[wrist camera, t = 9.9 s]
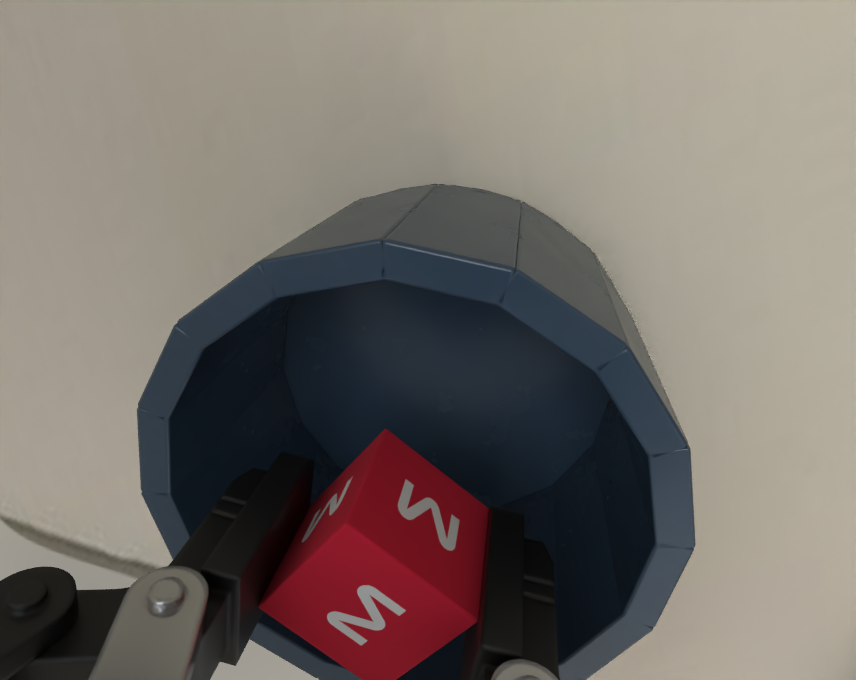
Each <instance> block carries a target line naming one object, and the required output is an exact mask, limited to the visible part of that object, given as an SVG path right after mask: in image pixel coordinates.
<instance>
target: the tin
mask: <svg viewBox="0 0 856 680" xmlns="http://www.w3.org/2000/svg"><path fill="white" fill-rule="evenodd" d="M137 418H138V439H139V459H140V479H141V490H142V496H143V498H144V500H145V502H146V504H147V506H148V508H149V511H150V513H151V515H152V517H153V519H154V521H155V523H156V525H157V527H158V529H159V531H160V533H161V535H162V537H163V540H164V542H165V544H166V546H167V548H168V550H169V552H170V554H171V556H172V558H173V560H174V558H175V557H176V556H177V554H178V553H179V552H180V550H181V549H182V548H183V546H184V545H185V544H186V542H187V541H188V540H189V538H190V537H191V536H192V534H193V533H194V532H195V531H196V529H197V528H198V527H199V525H200V524H201V523H202V521H203V520H204V519H205V517H206V516H207V515H208V513H211V509H212V508H213V507H214V505H215V504H216V503H217V501H218V500H219V499H221V497H222V495H223V494H224V492H225V491H226V490H227V488H228V487H229V486H230V484H231V483H232V482H233V480H234V479H236V478H238V477H239V476H241V475H242V474H244V473H246V472H247V471H249V470H251V469H252V468H256V469H260V470H264V471H268V470H269V469H270V467H271V466H272V464H273V463H274V461H275V460H276V458H277V457H278V456H279V454H280V453H281V452H287V453H291V454H295V455H299V456H303V457H307V458H311V459H314V474H313V483H312V492H311V501H310V506H311V504H312V503H313V502H314V501H315V500H316V499H317V498H318V497H319V496H320V495H321V494H322V493H323V492H324V491H325V490H326V489H327V488H328V487H329V486H330V485H331V484H332V483H333V482H334V481H335V480H336V479H337V477H338V476H339V475H340V474H341V473H342V472H343V471H344V470H345V469H346V468H347V467H348V466H349V465H350V464H351V463H352V462H353V461H354V460H355V459H356V458H357V457H358V456H359V455H360V454H361V453H362V452H363V451H364V450H365V449H366V448H367V447H368V446H369V445H370V444H371V443H372V442H373V441H374V440H375V439H376V438H377V437H378V436H379V435H380V433H381V432H382V431H383V430H384V429H387V430H389V431H390V432H391V433H392V434H394V435H395V436H396V437H398V438H399V439H400V440H401V441H403V442H404V443H405V444H407V445H408V446H409V447H410V448H412V449H413V450H414V451H416V452H417V453H418V454H419V455H421V456H422V457H423V458H424V459H426V460H427V461H428V462H430V463H431V464H432V465H433V466H435V467H436V468H437V469H439V470H440V471H441V472H442V473H444V474H445V475H446V476H448V477H449V478H450V479H451V480H453V481H454V482H455V483H457V484H458V485H459V486H460V487H462V488H463V489H464V490H466V491H467V492H468V493H469V494H471V495H472V496H473V497H475V498H476V499H477V500H478V501H480V502H481V503H482V504H483V505H485V506H486V507H487V508H489V511H490V508H491V506H492V505H495V506H499V507H503V508H507V509H511V510H514V511H518V512H522V513H524V538H528V539H532V540H535V541H539V542H543V543H544V545H545V547H546V549H547V551H548V553H549V555H550V557H551V559H552V561H553V564H554V588H555V606H556V627H557V648H558V669H559V677H560V680H586V679H587V678H589V677H590V676H591V675H593V674H594V673H596V672H597V671H598V670H600V669H601V668H602V667H604V666H605V665H606V664H608V663H609V662H610V661H612V660H613V659H614V658H616V657H617V656H618V655H620V654H621V653H622V652H624V651H625V650H626V649H628V648H629V647H630V646H632V645H633V644H634V643H636V642H637V641H638V640H640V639H641V638H642V637H644V636H645V635H646V634H648V633H649V632H651V631H652V630H653V627H655V625H656V623H657V621H658V619H659V617H660V615H661V613H662V611H663V609H664V608H665V606H666V604H667V602H668V600H669V598H670V596H671V594H672V592H673V590H674V588H675V586H676V584H677V582H678V580H679V578H680V576H681V574H682V572H683V570H684V568H685V566H686V564H687V562H688V560H689V558H690V556H691V554H692V552H693V550H694V547H695V528H694V509H693V490H692V471H691V451H690V447H689V445H688V443H687V439H686V437H685V435H684V433H683V430H682V428H681V426H680V424H679V422H678V419H677V417H676V415H675V413H674V410H673V408H672V406H671V404H670V401H669V399H668V397H667V395H666V392H665V390H664V388H663V386H662V383H661V381H660V379H659V377H658V374H657V372H656V370H655V368H654V365H653V363H652V361H651V359H650V356H649V354H648V352H647V350H646V347H645V345H644V343H643V341H642V338H641V336H640V334H639V332H638V330H637V327H636V325H635V323H634V321H633V318H632V316H631V314H630V313H629V311H628V309H627V308H626V306H625V304H624V303H623V301H622V299H621V298H620V296H619V294H618V293H617V291H616V289H615V287H614V285H613V283H612V281H611V279H610V278H609V276H608V275H607V274H606V272H605V271H604V269H603V267H602V266H601V264H600V262H599V261H598V259H597V257H596V256H595V254H594V253H593V252H592V251H591V249H590V248H589V247H587V246H586V245H584V244H583V243H582V242H580V241H579V240H578V239H577V238H576V237H575V236H573V235H572V234H571V233H570V232H569V231H567V230H566V229H565V228H564V227H562V226H561V225H560V224H559V223H557V222H556V221H554V220H553V219H551V218H549V217H548V216H546V215H544V214H543V213H541V212H539V211H538V210H536V209H535V208H533V207H530V206H529V205H527V204H526V203H525V202H522V203H521V201H519V200H515V199H512V198H510V197H507V196H503V195H500V194H496V193H493V192H489V191H486V190H482V189H476V188H469V187H462V186H455V185H444V184H439V185H438V184H431V185H425V186H418V187H410V188H402V189H398V190H394V191H391V192H387V193H383V194H380V195H376V196H372V197H367V198H362V199H359V200H358V201H355V202H353V203H352V204H350V205H348V206H347V207H345V208H343V209H342V210H340V211H339V212H337V213H335V214H334V215H332V216H331V217H329V218H327V219H326V220H324V221H323V222H321V223H319V224H318V225H316V226H315V227H313V228H311V229H310V230H308V231H307V232H305V233H303V234H302V235H300V236H299V237H297V238H295V239H294V240H292V241H291V242H289V243H287V244H286V245H284V246H283V247H281V248H279V249H278V250H276V251H275V252H273V253H271V254H270V255H268V256H267V257H265V258H263V259H262V260H260V261H259V262H257V263H256V264H254V265H253V266H251V267H250V268H249V269H247V270H246V271H245V272H243V273H242V274H241V275H239V276H238V277H236V278H235V279H234V280H232V281H231V282H230V283H228V284H227V285H226V286H224V287H223V288H222V289H220V290H219V291H217V292H216V293H215V294H213V295H212V296H211V297H209V298H208V299H207V300H205V301H204V302H202V303H201V304H200V305H198V306H197V307H196V308H194V309H193V310H192V311H190V312H189V313H187V314H186V315H185V316H183V317H182V318H181V319H179V321H178V323H177V324H176V325H174V327H173V329H172V331H171V334H170V336H169V338H168V340H167V342H166V344H165V346H164V349H163V351H162V353H161V355H160V357H159V359H158V362H157V364H156V366H155V368H154V370H153V372H152V375H151V377H150V379H149V381H148V383H147V385H146V388H145V390H144V392H143V394H142V396H141V398H140V400H139V403H138V409H137ZM464 637H465V631H464V632H463V633H461V634H460V635H458V636H457V637H456V638H454V639H453V640H451V641H450V642H448V643H447V644H446V645H444V646H443V647H441V648H440V649H439V650H437V651H436V652H434V653H433V654H432V655H430V656H429V657H427V658H426V659H424V660H423V661H422V662H420V663H419V664H417V665H416V666H415V667H413V668H412V669H410V670H409V671H408V672H406V673H405V674H403V675H402V676H401V677H399V678H398V679H396V680H459V679H460V670H461V662H462V654H463V646H464ZM250 640H252V641H254V642H255V643H257V644H259V645H261V646H262V647H264V648H266V649H267V650H269V651H271V652H272V653H274V654H276V655H278V656H279V657H281V658H283V659H285V660H286V661H288V662H290V663H291V664H293V665H295V666H296V667H298V668H300V669H301V670H303V671H305V672H307V673H308V674H310V675H312V676H313V677H315V678H318V679H319V680H362V679H360V678H359V677H358V676H356V675H355V674H353V673H352V672H350V671H349V670H347V669H346V668H345V667H343V666H342V665H340V664H339V663H337V662H336V661H335V660H333V659H332V658H330V657H329V656H327V655H326V654H324V653H323V652H322V651H320V650H319V649H317V648H316V647H314V646H313V645H311V644H310V643H309V642H307V641H306V640H304V639H303V638H301V637H300V636H299V635H297V634H296V633H294V632H293V631H291V630H290V629H288V628H287V627H286V626H284V625H283V624H281V623H280V622H278V621H277V620H275V619H274V618H273V617H271V616H270V615H268V614H267V613H265V612H264V611H263V613H262V615H261V617H260V619H259V621H258V623H257V625H256V627H255V629H254V631H253V633H252V635H251V637H250Z"/></svg>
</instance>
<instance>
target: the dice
mask: <svg viewBox="0 0 856 680" xmlns="http://www.w3.org/2000/svg"><path fill="white" fill-rule="evenodd" d="M488 515H489V508H487V507H486V506H485V505H483V504H482V503H481V502H480V501H478V500H477V499H476V498H475V497H473V496H472V495H471V494H469V493H468V492H467V491H466V490H464V489H463V488H462V487H460V486H459V485H458V484H457V483H455V482H454V481H453V480H451V479H450V478H449V477H448V476H446V475H445V474H444V473H442V472H441V471H440V470H439V469H437V468H436V467H435V466H433V465H432V464H431V463H430V462H428V461H427V460H426V459H424V458H423V457H422V456H421V455H419V454H418V453H417V452H416V451H414V450H413V449H412V448H410V447H409V446H408V445H407V444H405V443H404V442H403V441H401V440H400V439H399V438H398V437H396V436H395V435H394V434H392V433H391V432H390V431H389V430H387V429H384V430H383V431H382V432H381V433H380V435H379V436H378V437H377V438H376V439H375V440H374V441H373V442H372V443H371V444H370V445H369V446H368V447H367V448H366V449H365V450H364V451H363V452H362V453H361V454H360V455H359V456H358V457H357V458H356V459H355V460H354V461H353V462H352V463H351V464H350V465H349V466H348V467H347V468H346V469H345V470H344V471H343V472H342V473H341V474H340V475H339V476H338V477H337V479H336V480H335V481H334V482H333V483H332V484H331V485H330V486H329V487H328V488H327V489H326V490H325V491H324V492H323V493H322V494H321V495H320V496H319V497H318V498H317V499H316V500H315V501H314V502H313V503H312V504H311V506H310V508H309V510H308V512H307V514H306V516H305V518H304V519H303V521H302V523H301V525H300V527H299V529H298V531H297V533H296V535H295V537H294V538H293V540H292V542H291V544H290V546H289V548H288V550H287V552H286V554H285V556H284V558H283V559H282V561H281V563H280V565H279V567H278V569H277V571H276V573H275V575H274V577H273V578H272V580H271V582H270V584H269V586H268V588H267V590H266V592H265V594H264V596H263V597H262V599H261V601H260V603H259V605H258V607H259V608H260V609H261V610H263V611H264V612H265V613H267V614H268V615H270V616H271V617H273V618H274V619H275V620H277V621H278V622H280V623H281V624H283V625H284V626H286V627H287V628H288V629H290V630H291V631H293V632H294V633H296V634H297V635H299V636H300V637H301V638H303V639H304V640H306V641H307V642H309V643H310V644H311V645H313V646H314V647H316V648H317V649H319V650H320V651H322V652H323V653H324V654H326V655H327V656H329V657H330V658H332V659H333V660H335V661H336V662H337V663H339V664H340V665H342V666H343V667H345V668H346V669H347V670H349V671H350V672H352V673H353V674H355V675H356V676H358V677H359V678H360V679H362V680H396V679H398V678H399V677H401V676H402V675H403V674H405V673H406V672H408V671H409V670H410V669H412V668H413V667H415V666H416V665H417V664H419V663H420V662H422V661H423V660H424V659H426V658H427V657H429V656H430V655H432V654H433V653H434V652H436V651H437V650H439V649H440V648H441V647H443V646H444V645H446V644H447V643H448V642H450V641H451V640H453V639H454V638H456V637H457V636H458V635H460V634H461V633H463V632H464V631H465V630H467V629H468V628H470V627H471V626H472V625H474V624H475V623H477V622H478V616H479V606H480V596H481V586H482V575H483V565H484V555H485V545H486V535H487V525H488Z"/></svg>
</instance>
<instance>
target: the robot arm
mask: <svg viewBox="0 0 856 680" xmlns="http://www.w3.org/2000/svg"><path fill="white" fill-rule="evenodd" d="M313 474H314V459H311V458H307V457H303V456H299V455H295V454H291V453H287V452H281V453H280V454H279V456H278V457H277V458H276V460H275V461H274V463H273V464H272V466H271V467H270V469H269V470H268V471H264V470H260V469H256V468H252V469H251V470H249V471H247V472H246V473H244V474H242V475H241V476H239V477H238V478H236V479H234V480H233V482H232V483H231V484H230V486H229V487H228V488H227V490H226V491H225V492H224V494H223V495H222V497H221V499H219V500H218V501H217V503H216V504H215V505H214V507H213V508H212V509H211V513H208V515H207V516H206V517H205V519H204V520H203V521H202V523H201V524H200V525H199V527H198V528H197V529H196V531H195V532H194V533H193V534H192V536H191V537H190V538H189V540H188V541H187V542H186V544H185V545H184V546H183V548H182V549H181V550H180V552H179V553H178V554H177V556H176V557H175V558H174V560H173V561H172V562H171V563H170V565H169V566H167V567H162V568H158V569H155V570H153V571H151V572H148V573H147V574H145V575H143V576H142V577H140V578H139V579H138V580H136V582H134V583H133V584H132V585H131V587H128V588H123V589H108V590H107V589H106V590H77V589H76V584H75V580H74V579H73V577H72V576H71V575H70V574H69V573H68V572H66V571H64V570H62V569H59V568H55V567H35V568H31V569H26V570H23V571H20V572H17V573H15V574H13V575H10V576H8V577H7V578H5V579H3V580H2V581H0V680H210V679H211V677H212V675H213V673H214V671H215V669H216V667H217V666H218V663H219V662H224V663H228V664H231V665H234V666H235V665H236V664H237V662H238V660H239V658H240V656H241V654H242V652H243V650H244V648H245V646H246V644H247V643H248V641H249V639H250V637H251V635H252V633H253V631H254V629H255V627H256V625H257V623H258V621H259V619H260V617H261V615H262V613H263V610H261V609H260V608H259V607H258V605H259V603H260V601H261V599H262V597H263V596H264V594H265V592H266V590H267V588H268V586H269V584H270V582H271V580H272V578H273V577H274V575H275V573H276V571H277V569H278V567H279V565H280V563H281V561H282V559H283V558H284V556H285V554H286V552H287V550H288V548H289V546H290V544H291V542H292V540H293V538H294V537H295V535H296V533H297V531H298V529H299V527H300V525H301V523H302V521H303V519H304V518H305V516H306V514H307V512H308V510H309V508H310V501H311V492H312V483H313ZM459 680H560V677H559V669H558V648H557V627H556V606H555V588H554V564H553V561H552V559H551V557H550V555H549V553H548V551H547V549H546V547H545V545H544V543H543V542H539V541H535V540H532V539H528V538H524V513H522V512H518V511H514V510H511V509H507V508H503V507H499V506H495V505H492V506H491V508H490V511H489V515H488V525H487V535H486V545H485V555H484V565H483V575H482V586H481V596H480V606H479V616H478V622H477V623H475V624H474V625H472V626H471V627H470V628H468V629H467V630H465V637H464V646H463V654H462V662H461V670H460V679H459Z"/></svg>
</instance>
